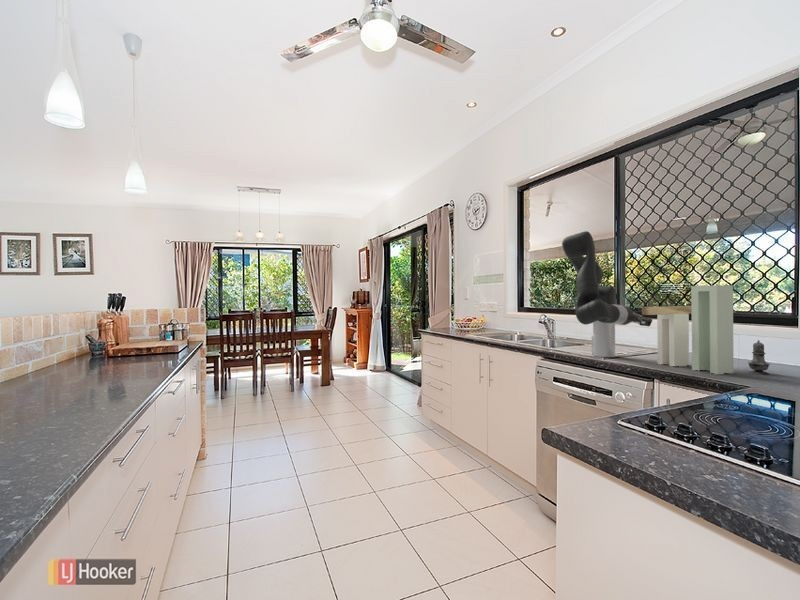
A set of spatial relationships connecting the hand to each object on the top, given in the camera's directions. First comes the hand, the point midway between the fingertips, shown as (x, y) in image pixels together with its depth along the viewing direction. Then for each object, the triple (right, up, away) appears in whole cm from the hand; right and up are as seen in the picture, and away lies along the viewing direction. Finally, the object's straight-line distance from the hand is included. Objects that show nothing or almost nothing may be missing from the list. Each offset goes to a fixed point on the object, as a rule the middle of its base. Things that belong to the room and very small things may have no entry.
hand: (639, 316), depth 152 cm
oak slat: (+15, +1, +3) cm, 16 cm away
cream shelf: (+16, -20, +3) cm, 26 cm away
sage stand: (+20, -20, -11) cm, 30 cm away
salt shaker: (+34, -20, -15) cm, 42 cm away
